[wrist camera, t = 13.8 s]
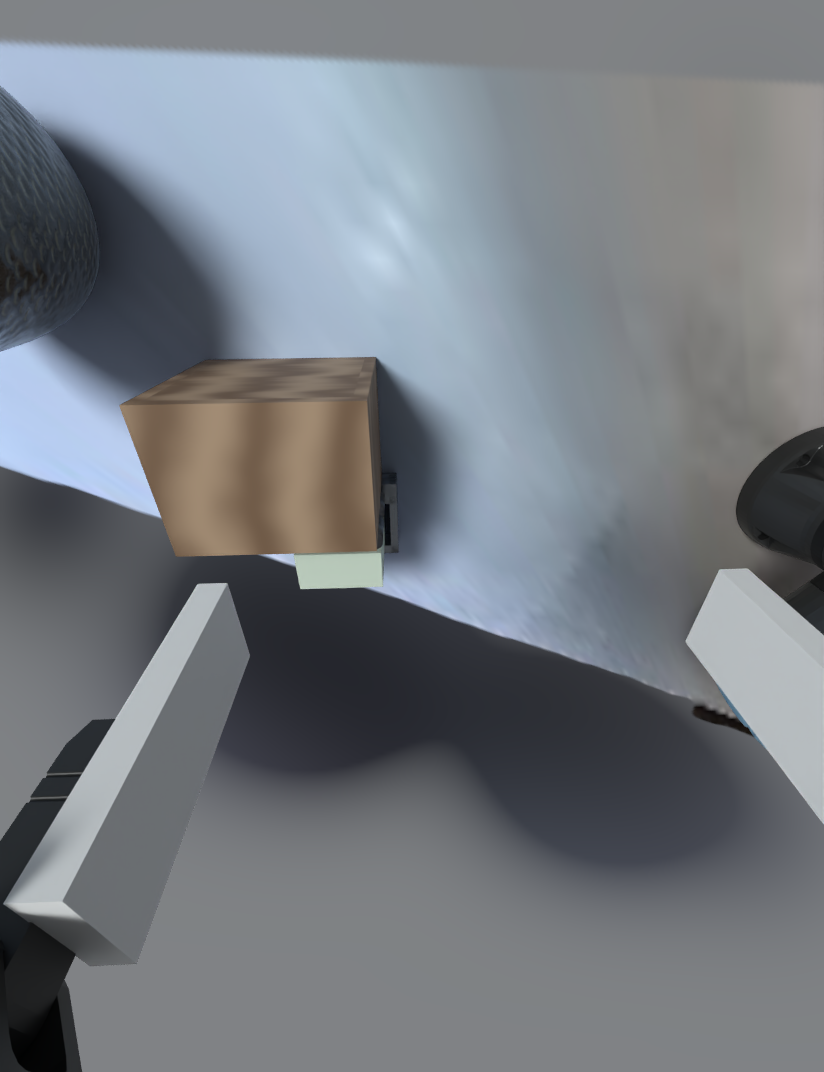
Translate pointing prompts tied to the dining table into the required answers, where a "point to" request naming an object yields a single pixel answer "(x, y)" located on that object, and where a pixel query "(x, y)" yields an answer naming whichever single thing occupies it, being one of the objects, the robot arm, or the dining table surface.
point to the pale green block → (341, 569)
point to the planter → (40, 231)
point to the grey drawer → (390, 497)
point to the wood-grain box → (263, 455)
